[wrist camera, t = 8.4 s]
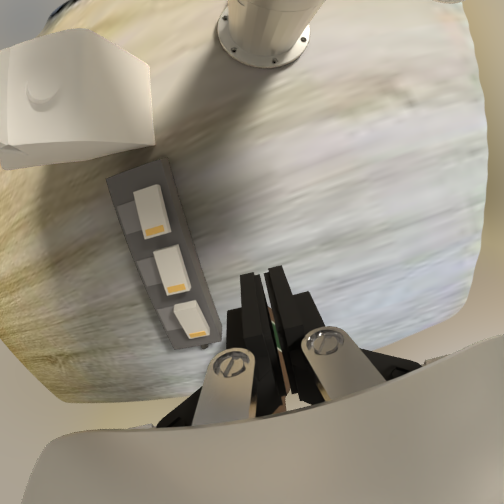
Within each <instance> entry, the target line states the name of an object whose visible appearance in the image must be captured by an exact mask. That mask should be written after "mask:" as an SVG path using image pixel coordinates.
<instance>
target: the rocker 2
mask: <svg viewBox="0 0 504 504" xmlns="http://www.w3.org/2000/svg"><path fill="white" fill-rule="evenodd" d="M174 313H175V315H176V317H177V319H178V320H179V322H180V324H181V326H182V327H183V329H184V331H185V332H186V334H187V336H188V337H189V339H192V338H197V337H202V336H208V335H210V328H209V326H208V324H207V322H206V320H205V318H204V316H203V313H202V311H201V309H200V307H199V305H198V303H197V301H196V300H194V301H189V302H184V303H180V304H175V305H174Z"/></svg>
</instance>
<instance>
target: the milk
mask: <svg viewBox="0 0 504 504" xmlns="http://www.w3.org/2000/svg"><path fill="white" fill-rule="evenodd" d="M154 145H155V136H154V126H153V115H152V102H151V87H150V68H149V65H148V64H146V63H145V62H143V61H142V60H140V59H139V58H137V57H135V56H134V55H132V54H131V53H129V52H127V51H126V50H124V49H122V48H121V47H119V46H117V45H116V44H114V43H112V42H111V41H109V40H107V39H106V38H104V37H102V36H100V35H99V34H97V33H95V32H93V31H91V30H89V29H85V28H76V29H69V30H64V31H60V32H56V33H52V34H48V35H45V36H41V37H38V38H35V39H31V40H29V41H26V42H22V43H19V44H17V45H14V46H12V47H11V48H9V47H8V48H5V49H3V50H0V162H1V166H2V169H4V170H14V169H20V168H27V167H34V166H41V165H49V164H58V163H68V162H78V161H87V160H91V159H94V158H98V157H102V156H106V155H111V154H115V153H119V152H124V151H128V150H133V149H138V148H143V147H148V146H154Z"/></svg>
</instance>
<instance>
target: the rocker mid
mask: <svg viewBox="0 0 504 504" xmlns="http://www.w3.org/2000/svg"><path fill="white" fill-rule="evenodd" d="M153 254H154V257H155V260H156V263H157V267H158V270H159V273H160V276H161V279H162V282H163V285H164V288H165V291H166V294H167V296H168V295H172V294H177V293H181V292H186V291H190V289H191V284H190V281H189V278H188V275H187V271H186V268H185V265H184V261H183V258H182V255H181V251H180V248H179V244H177V245H173V246H169V247H165V248H162V249H158V250H155V251H154V252H153Z"/></svg>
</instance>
